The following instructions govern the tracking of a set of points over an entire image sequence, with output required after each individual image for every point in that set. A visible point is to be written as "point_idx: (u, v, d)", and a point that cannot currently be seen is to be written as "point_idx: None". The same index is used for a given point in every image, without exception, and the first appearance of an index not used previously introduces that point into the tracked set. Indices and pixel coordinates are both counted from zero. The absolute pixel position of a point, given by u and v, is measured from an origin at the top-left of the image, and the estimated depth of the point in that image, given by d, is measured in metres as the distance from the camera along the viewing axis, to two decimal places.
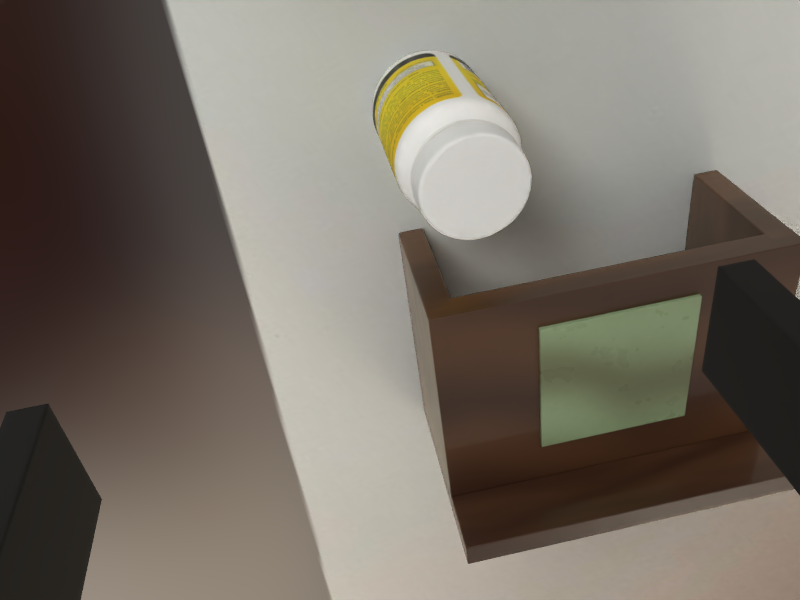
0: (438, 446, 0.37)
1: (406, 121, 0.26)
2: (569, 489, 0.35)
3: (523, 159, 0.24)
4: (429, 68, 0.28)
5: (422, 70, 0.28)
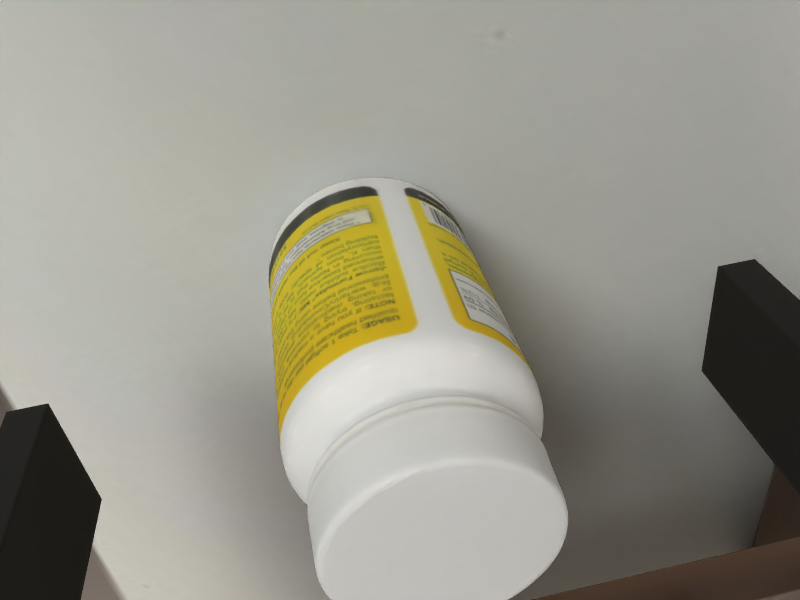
0: None
1: (301, 372, 0.12)
2: None
3: (552, 495, 0.11)
4: (362, 230, 0.14)
5: (347, 234, 0.14)
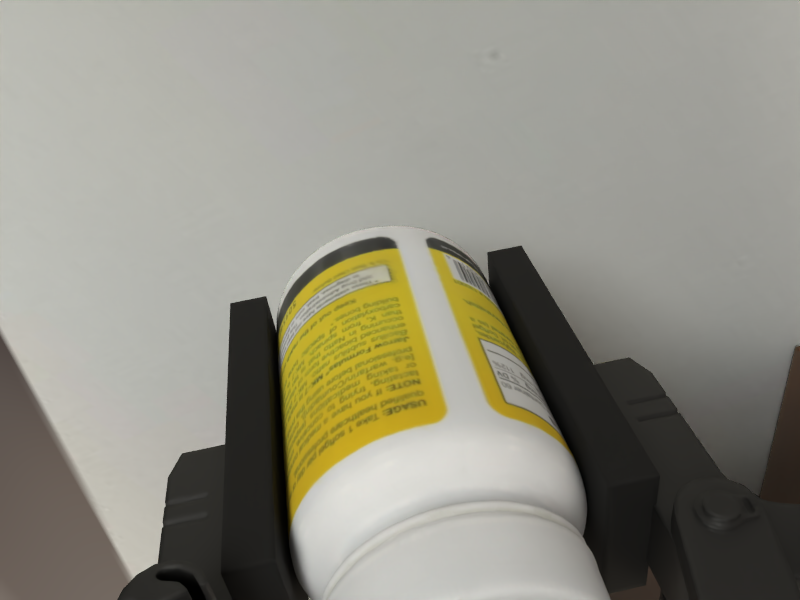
0: None
1: (313, 463, 0.11)
2: None
3: None
4: (381, 290, 0.13)
5: (364, 295, 0.13)
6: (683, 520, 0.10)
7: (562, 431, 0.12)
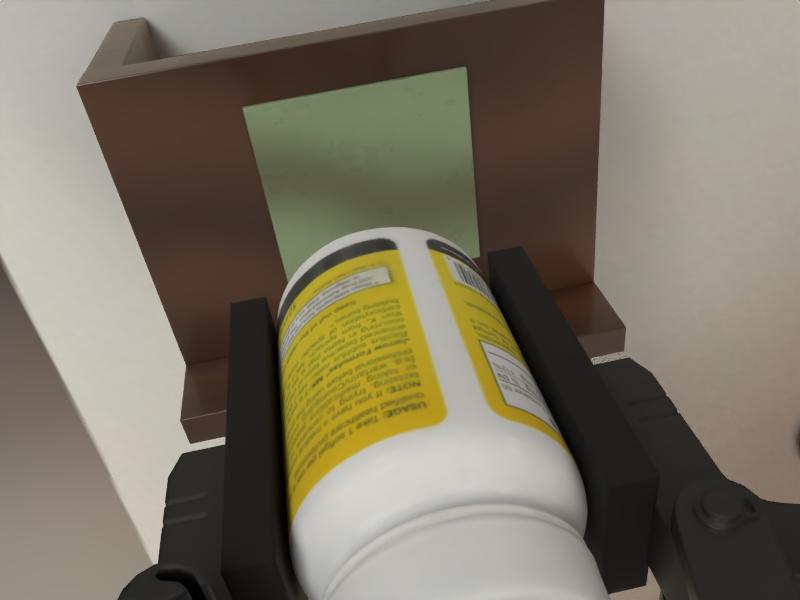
0: None
1: (313, 466, 0.11)
2: None
3: None
4: (381, 292, 0.13)
5: (364, 297, 0.13)
6: (683, 520, 0.10)
7: (562, 431, 0.12)
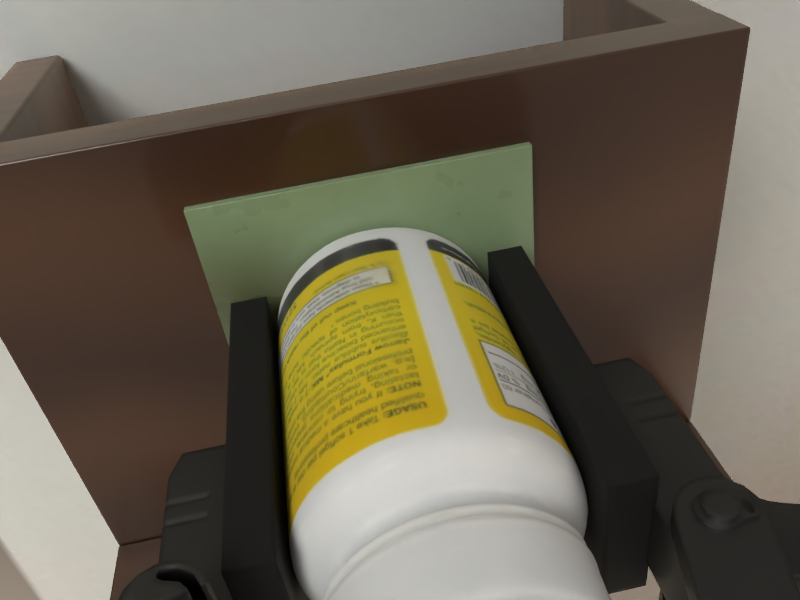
0: None
1: (314, 466, 0.11)
2: None
3: None
4: (381, 292, 0.13)
5: (364, 297, 0.13)
6: (683, 520, 0.10)
7: (562, 431, 0.12)
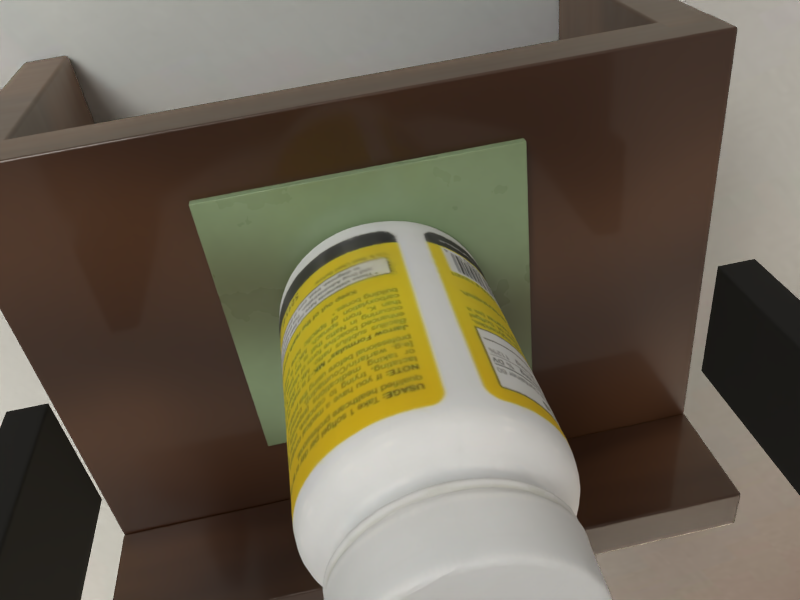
0: None
1: (316, 445, 0.11)
2: None
3: (597, 593, 0.10)
4: (381, 282, 0.13)
5: (364, 287, 0.13)
6: None
7: None
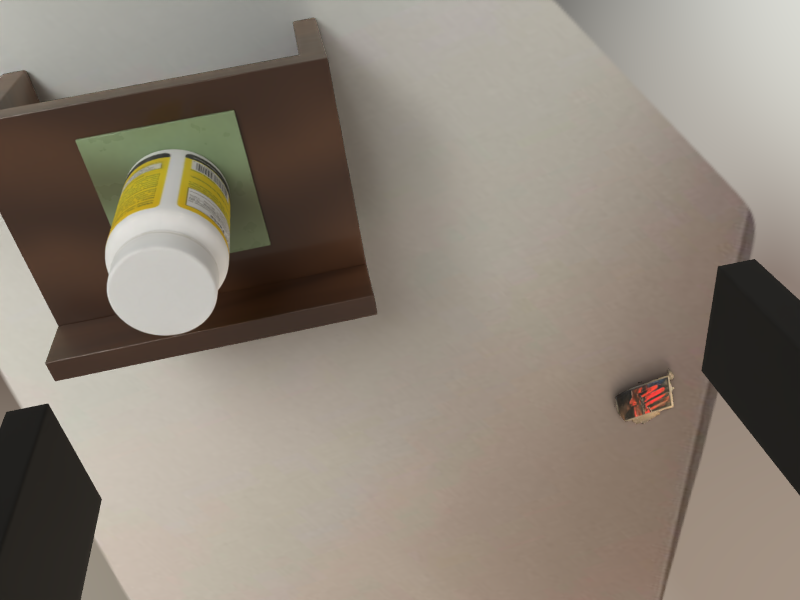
0: None
1: (112, 227, 0.28)
2: None
3: (201, 267, 0.27)
4: (154, 171, 0.31)
5: (147, 173, 0.31)
6: None
7: None
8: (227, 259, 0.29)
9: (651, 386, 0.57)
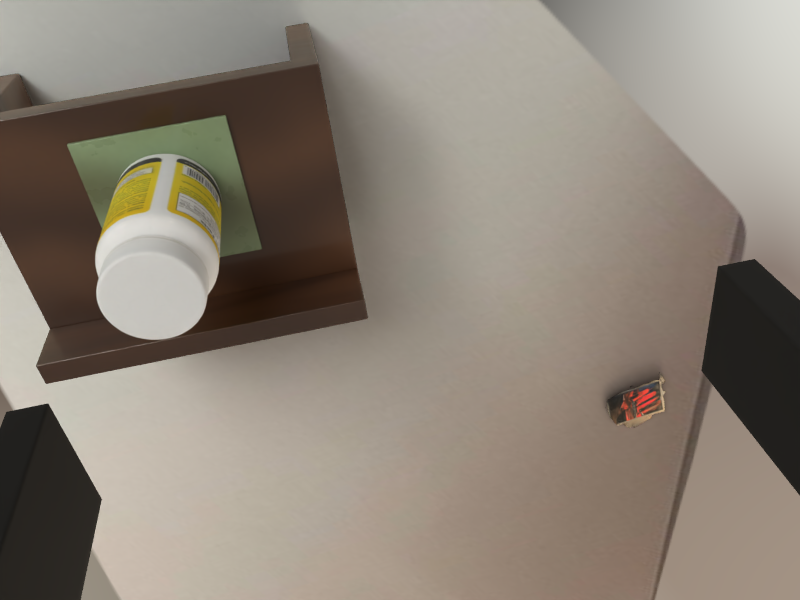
0: None
1: (102, 232, 0.28)
2: None
3: (190, 272, 0.27)
4: (145, 176, 0.31)
5: (138, 178, 0.31)
6: None
7: None
8: (217, 264, 0.30)
9: (642, 390, 0.57)
